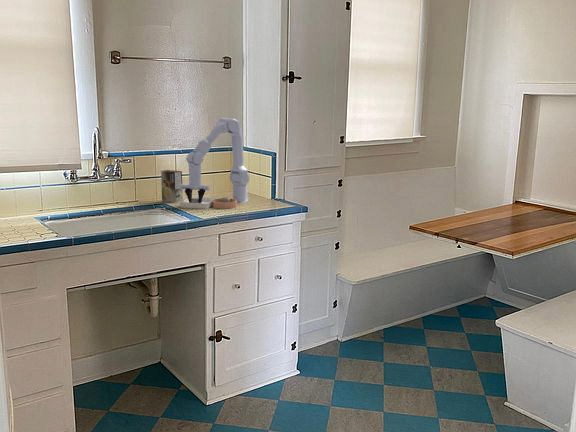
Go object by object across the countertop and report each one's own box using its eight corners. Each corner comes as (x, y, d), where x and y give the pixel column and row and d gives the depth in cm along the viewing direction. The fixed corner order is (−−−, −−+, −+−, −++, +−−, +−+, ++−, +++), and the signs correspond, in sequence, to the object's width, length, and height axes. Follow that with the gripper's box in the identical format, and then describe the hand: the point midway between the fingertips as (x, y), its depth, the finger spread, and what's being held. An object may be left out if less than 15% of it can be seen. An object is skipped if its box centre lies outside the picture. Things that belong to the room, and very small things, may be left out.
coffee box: (183, 201, 317) (182, 170, 313) (175, 203, 311) (175, 172, 308) (169, 200, 321) (168, 169, 317) (161, 201, 315) (160, 170, 312)
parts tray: (192, 201, 317) (192, 196, 317) (217, 203, 315) (217, 197, 314) (180, 208, 300) (180, 202, 299) (207, 209, 298) (207, 203, 297)
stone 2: (222, 204, 309) (222, 197, 308) (231, 204, 308) (230, 197, 308) (220, 205, 305) (220, 198, 304) (229, 206, 304) (229, 199, 303)
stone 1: (192, 205, 305) (192, 197, 305) (200, 205, 305) (200, 198, 304) (189, 206, 301) (189, 199, 301) (198, 207, 301) (198, 199, 300)
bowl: (216, 204, 311) (216, 197, 310) (239, 205, 309) (239, 198, 308) (209, 209, 300) (209, 202, 299) (233, 210, 298) (233, 203, 297)
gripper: (177, 177, 297) (178, 204, 300) (206, 178, 295) (207, 206, 298) (182, 175, 304) (183, 202, 307) (211, 176, 302) (211, 203, 305)
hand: (195, 204), depth 303 cm, fingers closed on stone 1, 4 cm apart
